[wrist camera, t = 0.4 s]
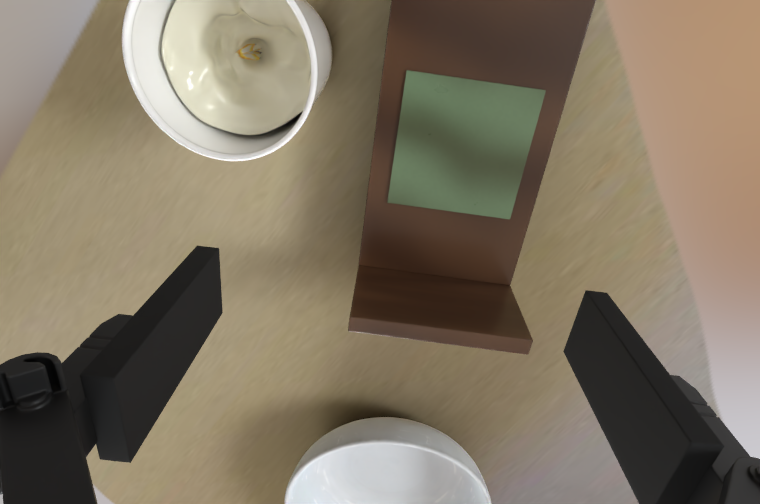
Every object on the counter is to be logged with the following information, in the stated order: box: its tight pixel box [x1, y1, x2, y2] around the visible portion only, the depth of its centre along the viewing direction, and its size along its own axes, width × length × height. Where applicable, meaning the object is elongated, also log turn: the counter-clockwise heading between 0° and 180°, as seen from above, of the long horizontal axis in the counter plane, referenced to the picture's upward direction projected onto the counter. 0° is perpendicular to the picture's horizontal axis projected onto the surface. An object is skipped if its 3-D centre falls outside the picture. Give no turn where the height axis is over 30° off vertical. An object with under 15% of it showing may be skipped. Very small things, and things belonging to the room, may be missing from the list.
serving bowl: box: [285, 417, 492, 504], centre depth 49 cm, size 21×21×7 cm
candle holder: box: [122, 0, 332, 161], centre depth 28 cm, size 10×10×12 cm
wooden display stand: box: [348, 0, 596, 354], centre depth 31 cm, size 21×12×12 cm, turn 173°
